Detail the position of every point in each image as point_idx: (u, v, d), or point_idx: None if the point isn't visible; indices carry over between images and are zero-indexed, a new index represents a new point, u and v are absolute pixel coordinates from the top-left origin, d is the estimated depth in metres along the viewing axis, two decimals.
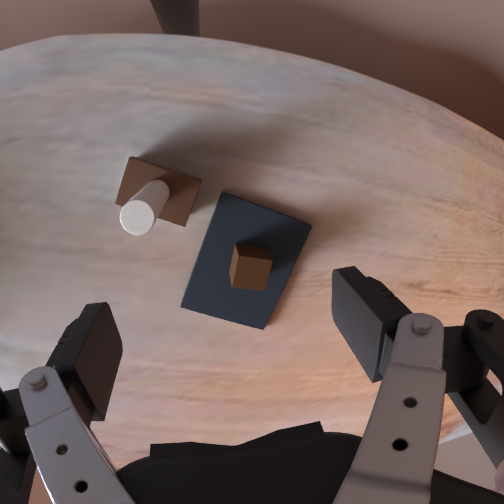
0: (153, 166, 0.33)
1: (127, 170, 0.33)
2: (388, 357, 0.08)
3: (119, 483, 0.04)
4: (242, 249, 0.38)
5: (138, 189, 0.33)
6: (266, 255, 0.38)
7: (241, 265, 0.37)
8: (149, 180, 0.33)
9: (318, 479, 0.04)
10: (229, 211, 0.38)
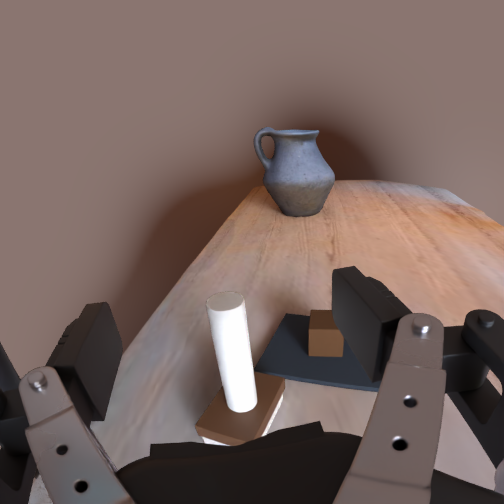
0: (211, 404, 0.28)
1: (210, 428, 0.25)
2: (388, 357, 0.08)
3: (119, 483, 0.04)
4: None
5: (236, 418, 0.26)
6: None
7: (318, 326, 0.35)
8: (226, 407, 0.27)
9: (318, 479, 0.04)
10: (274, 363, 0.36)
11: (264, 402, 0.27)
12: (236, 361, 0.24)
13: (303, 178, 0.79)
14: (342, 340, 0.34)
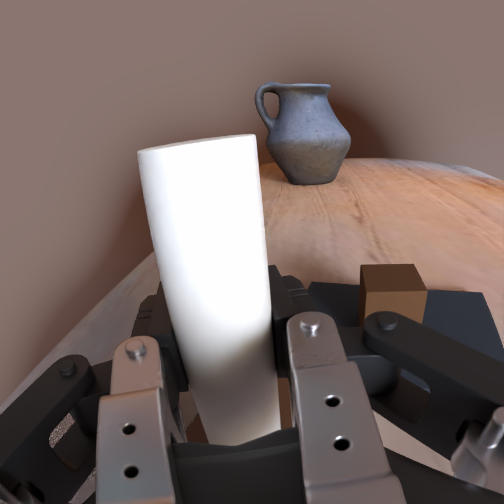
0: None
1: None
2: (285, 353, 0.08)
3: (171, 481, 0.04)
4: (362, 315, 0.20)
5: None
6: (360, 285, 0.22)
7: (382, 287, 0.19)
8: None
9: None
10: None
11: None
12: (230, 346, 0.08)
13: (314, 135, 0.64)
14: (422, 311, 0.18)
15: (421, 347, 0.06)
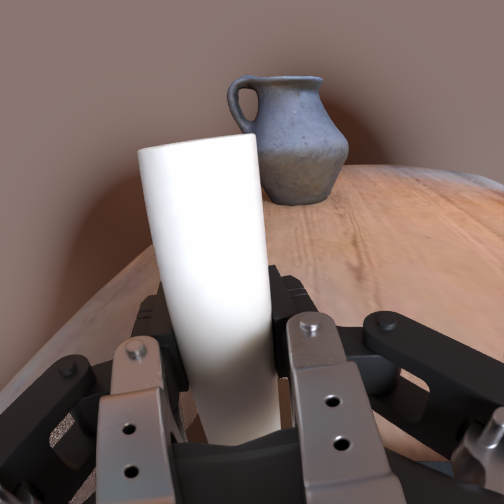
0: None
1: None
2: (285, 353, 0.08)
3: (171, 482, 0.04)
4: None
5: None
6: None
7: None
8: None
9: None
10: None
11: None
12: (230, 345, 0.08)
13: (301, 143, 0.49)
14: None
15: (421, 347, 0.06)
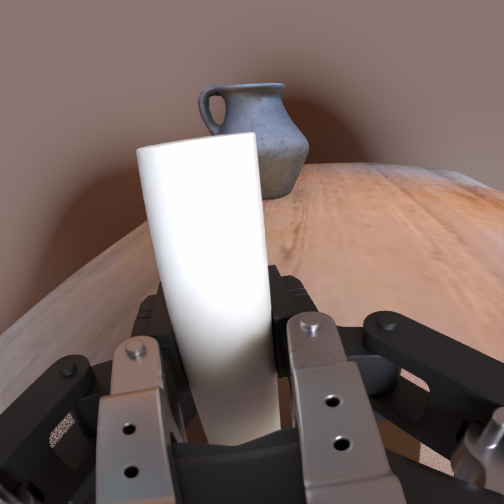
0: None
1: None
2: (285, 353, 0.08)
3: (171, 482, 0.04)
4: None
5: None
6: None
7: None
8: None
9: None
10: (86, 480, 0.12)
11: None
12: (229, 344, 0.08)
13: (259, 144, 0.56)
14: None
15: (421, 347, 0.06)
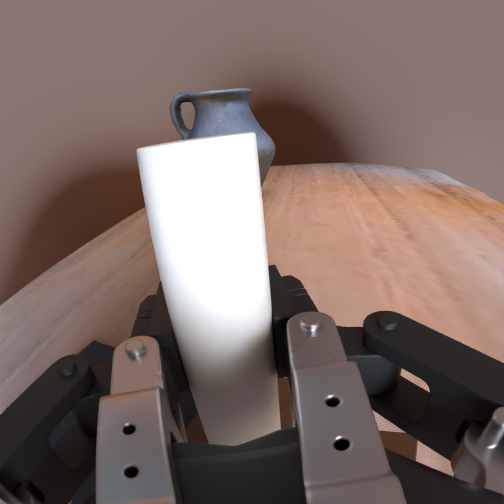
0: None
1: None
2: (285, 353, 0.08)
3: (171, 482, 0.04)
4: None
5: None
6: None
7: None
8: None
9: None
10: None
11: None
12: (230, 345, 0.08)
13: None
14: None
15: (421, 347, 0.06)
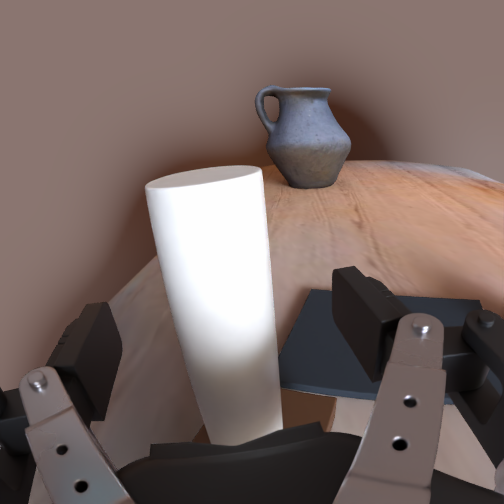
0: None
1: None
2: (388, 357, 0.08)
3: (119, 483, 0.04)
4: None
5: None
6: None
7: None
8: None
9: (318, 479, 0.04)
10: (302, 366, 0.20)
11: None
12: (237, 370, 0.08)
13: (315, 139, 0.64)
14: None
15: None
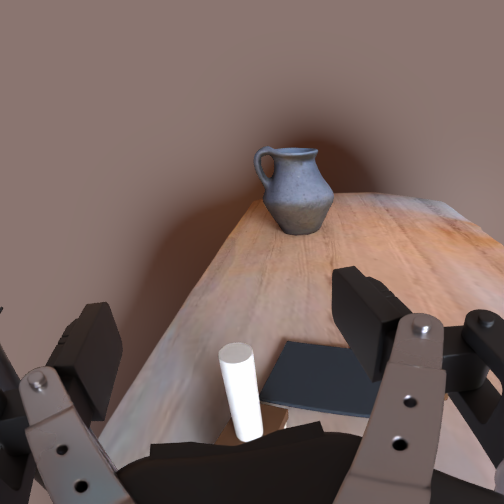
0: (221, 434, 0.29)
1: None
2: (388, 357, 0.08)
3: (119, 483, 0.04)
4: None
5: None
6: None
7: None
8: (235, 437, 0.29)
9: (318, 479, 0.04)
10: (276, 391, 0.38)
11: None
12: (245, 403, 0.26)
13: (302, 199, 0.82)
14: None
15: None
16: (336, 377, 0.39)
